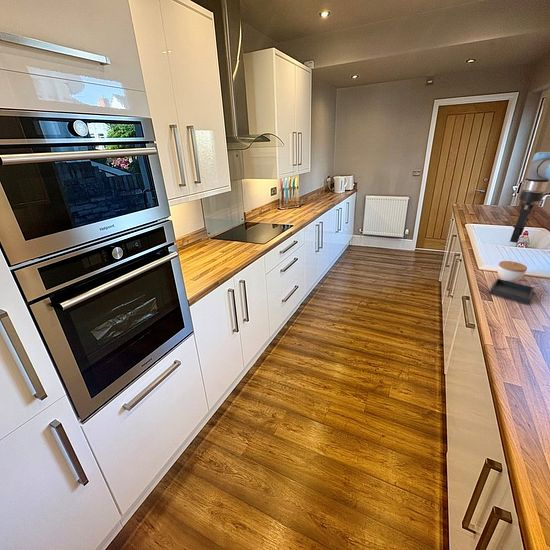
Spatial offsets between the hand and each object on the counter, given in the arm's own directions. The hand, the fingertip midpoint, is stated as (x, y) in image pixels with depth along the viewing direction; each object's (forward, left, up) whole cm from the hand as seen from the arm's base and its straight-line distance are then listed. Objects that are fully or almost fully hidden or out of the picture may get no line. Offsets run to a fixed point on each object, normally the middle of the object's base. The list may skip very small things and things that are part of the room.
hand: (515, 238), depth 133 cm
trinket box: (-2, -2, -21) cm, 21 cm away
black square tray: (-6, +13, -21) cm, 26 cm away
